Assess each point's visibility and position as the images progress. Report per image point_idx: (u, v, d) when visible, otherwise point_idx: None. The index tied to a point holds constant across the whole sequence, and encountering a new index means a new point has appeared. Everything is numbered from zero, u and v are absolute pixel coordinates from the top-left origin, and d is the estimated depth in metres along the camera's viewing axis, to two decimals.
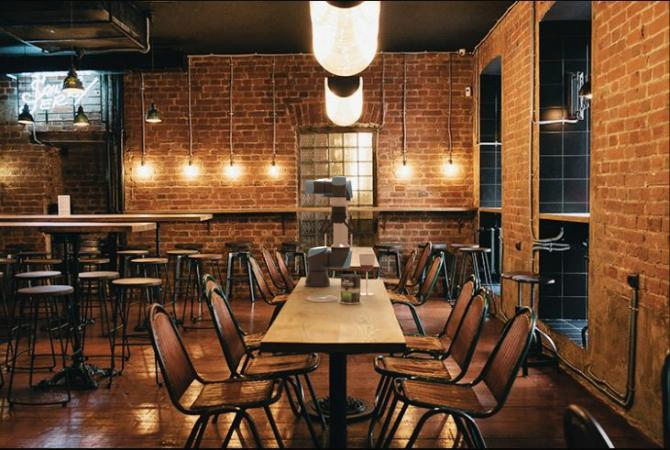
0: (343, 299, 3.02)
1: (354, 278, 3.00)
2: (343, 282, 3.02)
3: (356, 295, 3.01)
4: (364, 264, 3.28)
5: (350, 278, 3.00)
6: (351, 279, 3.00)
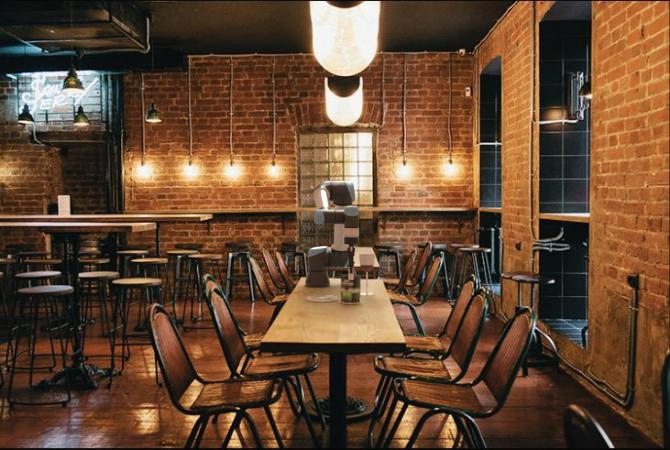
0: (343, 299, 3.02)
1: (354, 278, 3.00)
2: (343, 282, 3.02)
3: (356, 295, 3.01)
4: (364, 264, 3.28)
5: None
6: None
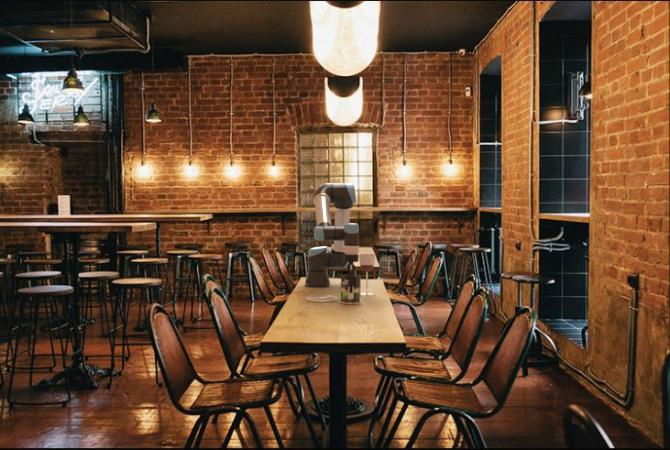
0: (343, 299, 3.02)
1: (354, 278, 3.00)
2: (343, 282, 3.02)
3: (356, 295, 3.01)
4: (364, 264, 3.28)
5: None
6: None
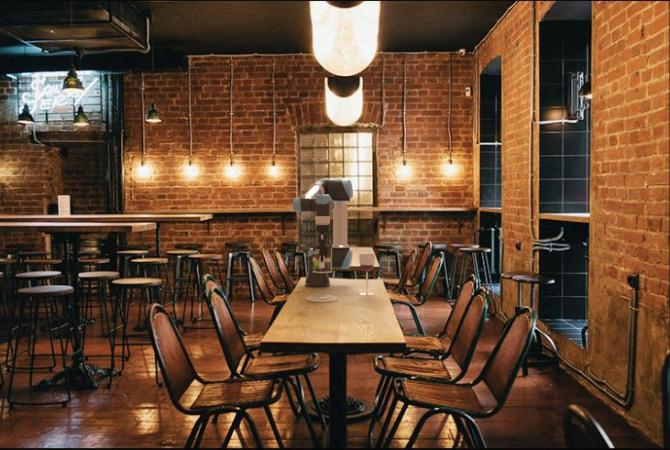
0: (314, 268, 3.09)
1: (325, 247, 3.07)
2: (314, 252, 3.09)
3: (327, 264, 3.08)
4: (364, 264, 3.28)
5: None
6: None
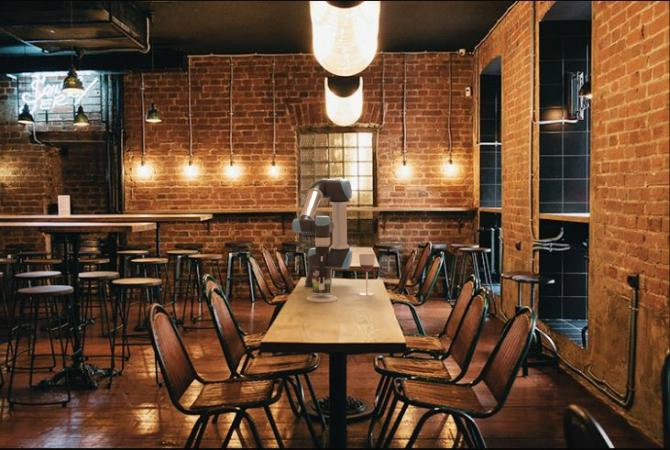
0: (314, 290, 3.09)
1: (325, 269, 3.07)
2: (314, 273, 3.09)
3: (327, 286, 3.09)
4: (364, 264, 3.28)
5: None
6: None
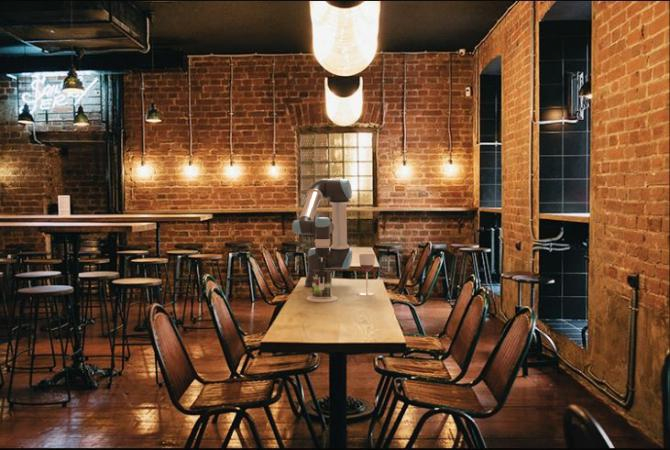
0: (314, 294, 3.10)
1: (325, 273, 3.08)
2: (314, 277, 3.09)
3: (327, 289, 3.09)
4: (364, 264, 3.28)
5: None
6: None
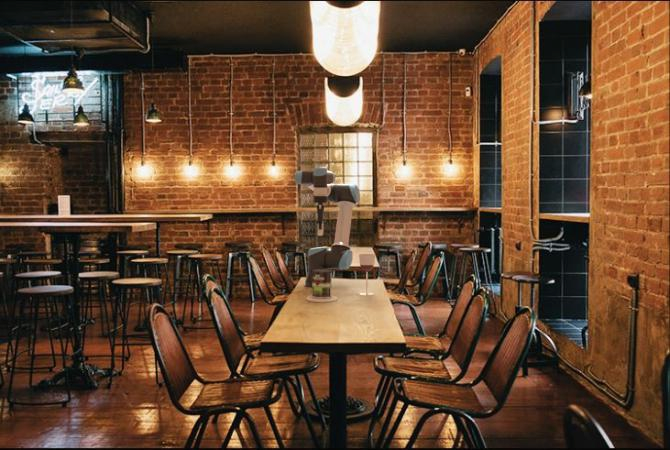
0: (314, 293, 3.10)
1: (325, 273, 3.08)
2: (314, 277, 3.09)
3: (327, 289, 3.09)
4: (364, 264, 3.28)
5: (321, 273, 3.07)
6: (322, 274, 3.07)
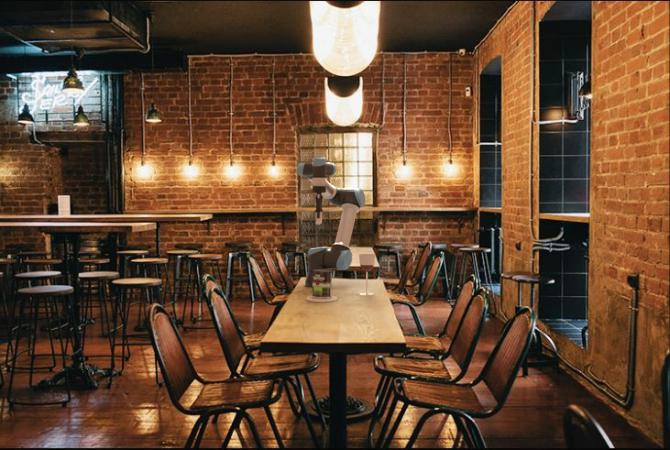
0: (314, 293, 3.10)
1: (325, 273, 3.08)
2: (314, 277, 3.09)
3: (327, 289, 3.09)
4: (364, 264, 3.28)
5: (321, 273, 3.07)
6: (322, 274, 3.07)
